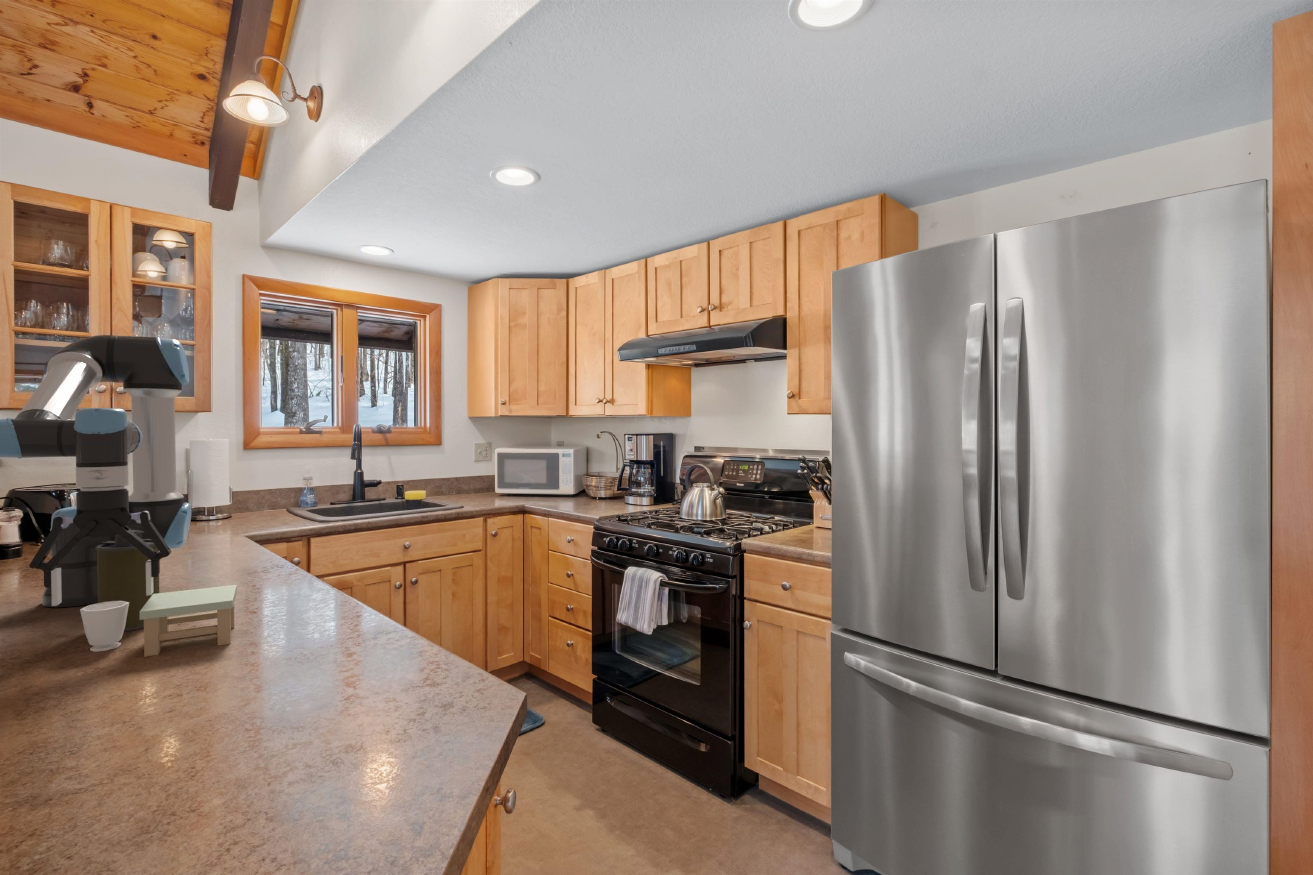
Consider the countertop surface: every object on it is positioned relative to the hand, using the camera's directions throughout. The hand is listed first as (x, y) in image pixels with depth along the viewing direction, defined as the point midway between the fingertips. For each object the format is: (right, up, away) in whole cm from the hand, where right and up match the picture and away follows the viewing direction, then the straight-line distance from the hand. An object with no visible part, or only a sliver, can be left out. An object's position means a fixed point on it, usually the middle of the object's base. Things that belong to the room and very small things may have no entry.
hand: (104, 598), depth 120 cm
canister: (-6, -9, +13) cm, 17 cm away
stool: (+15, -9, +3) cm, 17 cm away
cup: (0, -9, 0) cm, 9 cm away
